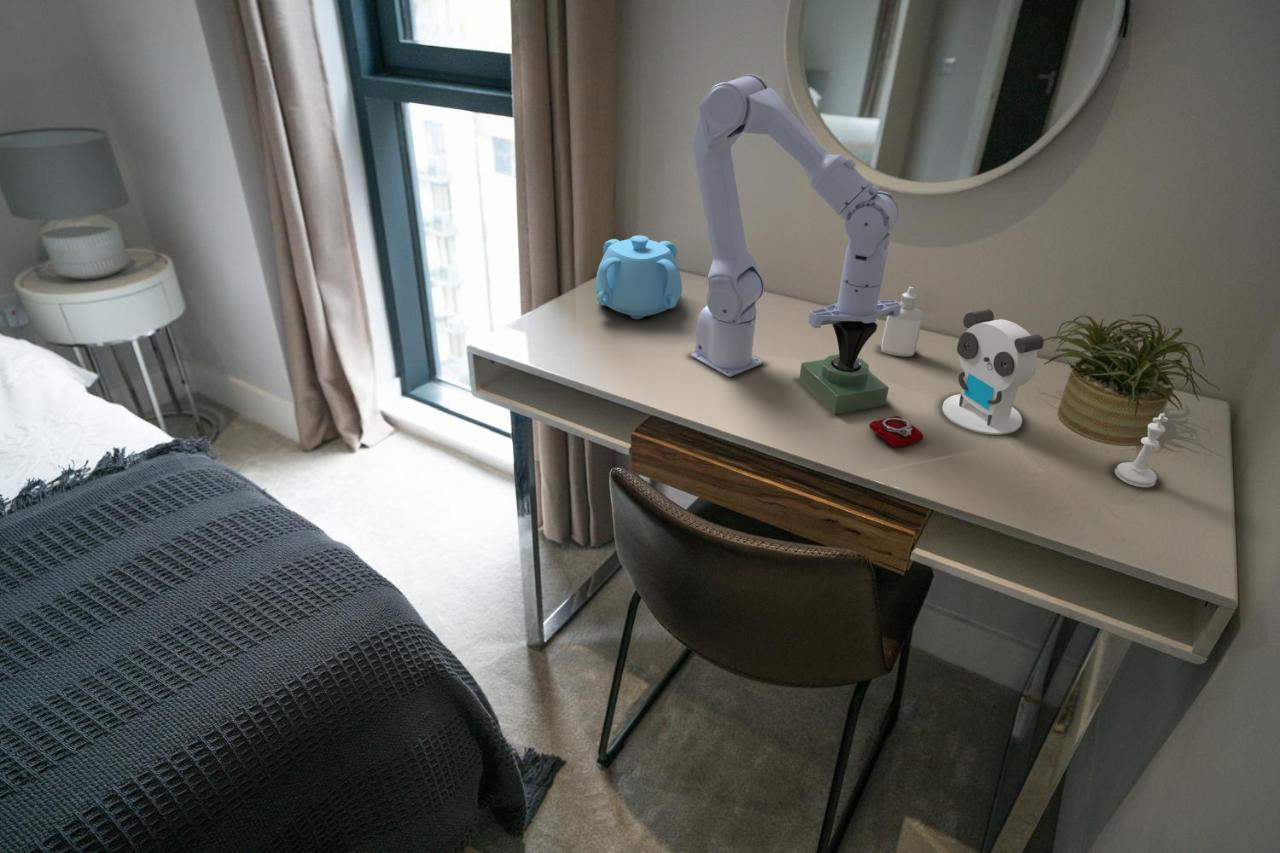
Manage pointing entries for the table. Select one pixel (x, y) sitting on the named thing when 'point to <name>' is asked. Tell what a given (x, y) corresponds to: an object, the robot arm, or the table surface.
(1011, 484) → the table surface
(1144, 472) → the chess piece
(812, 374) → the green button base
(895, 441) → the engagement ring
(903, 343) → the eye dropper bottle
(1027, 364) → the panda figurine
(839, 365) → the black push button
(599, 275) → the decorative pot
